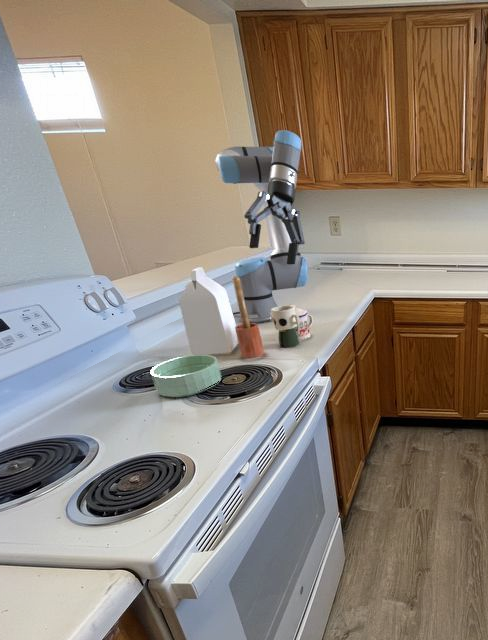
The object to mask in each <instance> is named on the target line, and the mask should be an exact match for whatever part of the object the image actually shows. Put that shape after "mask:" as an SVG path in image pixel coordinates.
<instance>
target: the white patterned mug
mask: <svg viewBox="0 0 488 640" xmlns="http://www.w3.org/2000/svg"><path fill="white" fill-rule="evenodd" d="M290 306H294V308H295V313H296V315H298V317H299V325H297V326H296V327H294V329H295V331H296V334H297V337H298V340H299V341H300V340H303V339H307V338H310V337H311V331H310V328H311V327H312V325H313V322H314V318H313V315H312V314H311V313H308V312H307V311H308V310H306V309H304V308H300V307H297V306H296V305H295V304H290ZM308 318H309V319H308Z"/></svg>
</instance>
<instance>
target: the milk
mask: <svg viewBox="0 0 488 640" xmlns="http://www.w3.org/2000/svg"><path fill="white" fill-rule="evenodd" d="M190 277H191V279H190V280H189V281H187V283H186V284H185V286H184V288H185V289H184V290H182V292H181V294H180V295H179V298H178V302H179V303H178V304H179V308H180V311H181V316H182V320H183V324H184V329H185V333H186V336H187V342H188V345H189V350H190V354H191V355H219V354H228V353H232V352H233V350H234V349H235V347H237V346H238V345H239V343H238V338H237V334H236V330H235V327H236V326H237V323H236V320H235V316H234V315H233V313H234V312H233V310H232V306H231V303H230V299H229V296H228V292H227V290H226V289H225V287H223V286H222V285H221V284H219V283H218V282H216V281H214V279H212V278H210V277H208V276H207V275H206V273H205V270H204V268H203V266H202V267H201V266H200V267H199V266H198V267H196V268H193V269H192V270H190Z"/></svg>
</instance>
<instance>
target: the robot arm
mask: <svg viewBox="0 0 488 640" xmlns="http://www.w3.org/2000/svg"><path fill="white" fill-rule="evenodd" d="M301 152H302V140H301V138H300V137H299V136H298V135H297V134H296V133H294V132H293V131H290V130H286V129H280V130H278V131H276V132H275V136H274V140H273V146H268V145H266V146H229V147H228V148H225V149H222V150H221V151H219V152H218V153H217V154H216V156H215V167H216V169H217V171H218V172H219V174H220V178H221V181H222V182H223V183H224V184H232V185H236V184H253V185H254V187H255V188H256V189H257V190H259V191H258V192H257V196H256V198H255V200H254V201H253V203H252V204H251V205H250V206H249V208H248V209H247V210H246V212H245V213H244V214H243V217H244V219H247V223H248V224H249V230H248V234H249V236H250V238H249V244H248V245H249V246H248V247H249V249H259V245H260V237H261V229H262V224H260V222H261V221H263V220H265V221H266V225H267V229H268V234H269V238H270V243H271V248H272V253H271V254H270V255H269V258H270V260H267V258H266V257H265V256H259V257H251V258H247V259H243V260H241V261H239V262H236V264H235V266H234V269H235V271H234V272H235V276H237V277H239V278H240V282H241V286H242V291H243V295H244V300H245V304H246V309H247V313H248V318H249V323H257V324H258V323H268V322H272V321H271V317H270V313H271V309H272V308H274V307H278V306H279V305H278V304H277V302H276V300H275V298H274V295H273V291H280V290H288V289H297V288H302V287H305V286H306V285H307V283H308V278H309V277H308V274H309V273H308V272H309V271H308V262H307V259H306V257H304V256H301V255H302V254H301V252H300V251H299V246H301V245H305V242H306V241H305V237H304V232H303V227H302V222H301V211H300V210H295V209H293V204H294V201H295V200H296V199H295V198H296V189H297V183H298V171H299V166H300V160H301ZM262 207H263V209H262V210H261V211H260V209H261V208H262ZM259 211H260V212H259ZM232 313H233V316H234V315H240V311H235V312H232ZM240 318H241V316H240ZM240 320H241V319H240ZM241 322H242V320H241Z"/></svg>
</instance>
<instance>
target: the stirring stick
mask: <svg viewBox="0 0 488 640" xmlns="http://www.w3.org/2000/svg"><path fill="white" fill-rule="evenodd" d="M232 285H233V289H234V294H235V298H236V301H237V306H238V312H240V314H239V315H240V316H241V317H240V320H242V321H241V324H243V329H246V328H251V327H250V323H249V318H248V313H247V309H246V304H245V300H244V295H243V291H242V286H241V282H240V278H239V277H237V276H236V275H235V276H233V277H232Z"/></svg>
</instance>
